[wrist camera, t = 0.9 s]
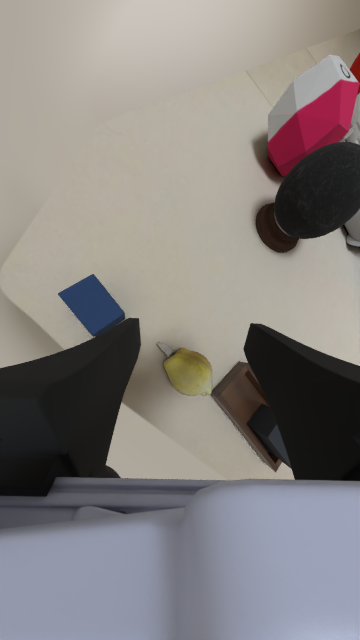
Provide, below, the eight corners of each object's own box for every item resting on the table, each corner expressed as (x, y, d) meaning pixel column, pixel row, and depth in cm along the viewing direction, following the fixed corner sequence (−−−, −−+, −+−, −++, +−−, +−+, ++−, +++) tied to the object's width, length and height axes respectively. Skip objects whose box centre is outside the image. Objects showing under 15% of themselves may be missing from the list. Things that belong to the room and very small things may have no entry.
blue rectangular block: (98, 337, 23) (92, 335, 19) (70, 303, 22) (57, 293, 18) (125, 318, 24) (124, 313, 20) (99, 286, 24) (93, 273, 20)
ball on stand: (245, 200, 35) (324, 103, 21) (289, 203, 39) (379, 124, 25) (261, 258, 34) (355, 196, 20) (304, 255, 38) (408, 202, 24)
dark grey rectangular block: (267, 450, 28) (291, 469, 23) (246, 423, 27) (267, 437, 23) (281, 429, 29) (306, 443, 25) (261, 403, 29) (284, 413, 24)
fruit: (169, 328, 26) (219, 366, 26) (145, 358, 26) (196, 396, 26) (166, 330, 20) (230, 379, 20) (136, 369, 20) (201, 418, 20)
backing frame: (263, 462, 28) (275, 472, 25) (209, 393, 26) (217, 397, 24) (287, 425, 30) (300, 432, 28) (238, 361, 29) (248, 362, 27)
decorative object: (365, 121, 25) (351, -10, 22) (264, 188, 37) (245, 108, 33) (364, 143, 34) (355, 53, 31) (284, 191, 46) (270, 129, 43)
